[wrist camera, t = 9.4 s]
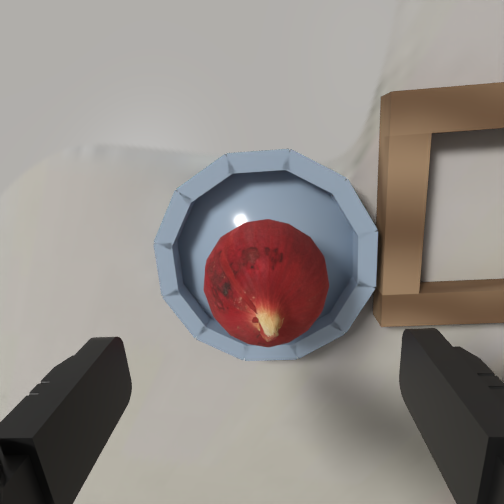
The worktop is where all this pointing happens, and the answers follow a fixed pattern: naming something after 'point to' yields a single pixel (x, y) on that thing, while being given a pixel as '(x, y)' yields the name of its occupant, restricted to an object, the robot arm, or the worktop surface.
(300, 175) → the dish
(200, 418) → the worktop surface
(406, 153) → the frame
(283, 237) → the onion
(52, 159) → the worktop surface
